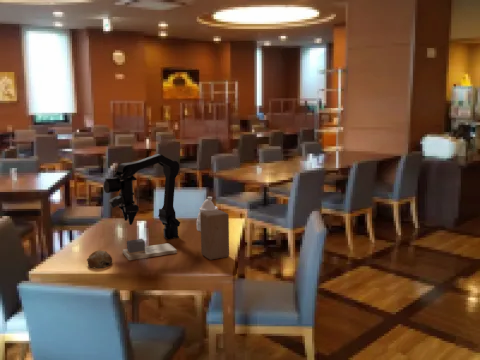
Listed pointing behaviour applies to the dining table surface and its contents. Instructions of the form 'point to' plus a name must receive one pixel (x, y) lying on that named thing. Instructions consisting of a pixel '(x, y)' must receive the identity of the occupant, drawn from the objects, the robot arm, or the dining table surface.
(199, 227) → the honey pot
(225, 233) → the wooden block
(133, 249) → the block
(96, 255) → the brown dome
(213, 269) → the dining table surface
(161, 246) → the board
